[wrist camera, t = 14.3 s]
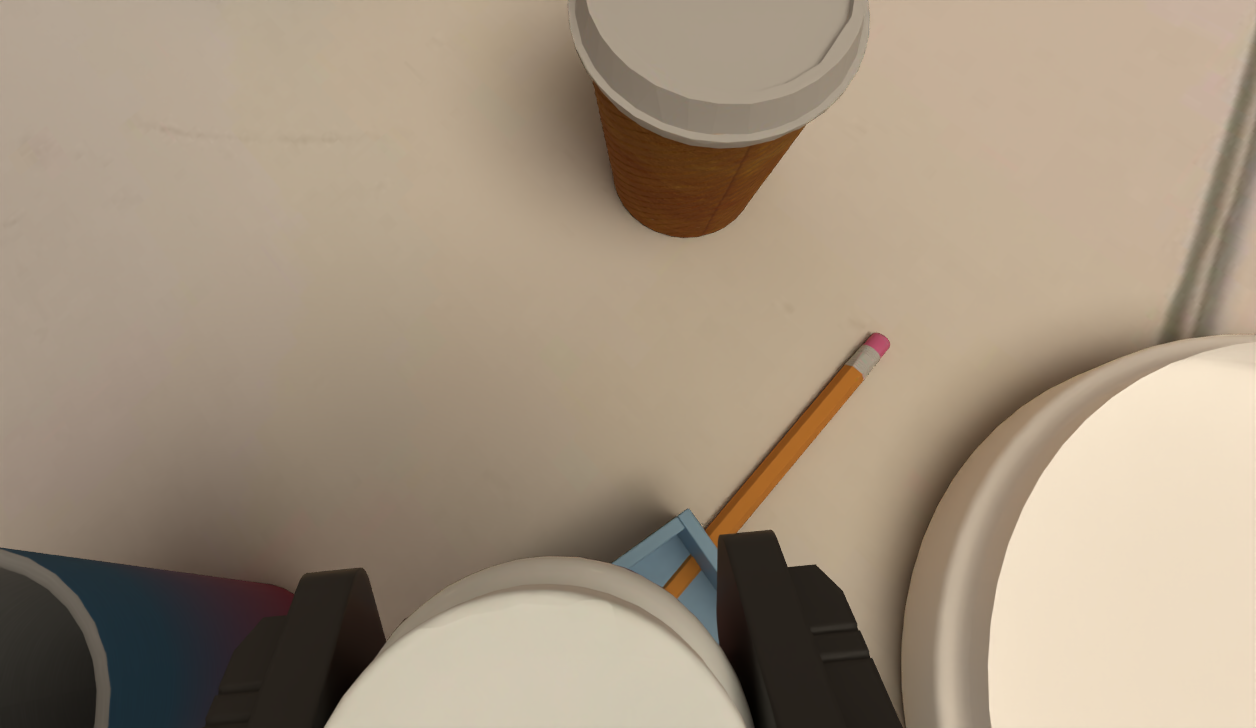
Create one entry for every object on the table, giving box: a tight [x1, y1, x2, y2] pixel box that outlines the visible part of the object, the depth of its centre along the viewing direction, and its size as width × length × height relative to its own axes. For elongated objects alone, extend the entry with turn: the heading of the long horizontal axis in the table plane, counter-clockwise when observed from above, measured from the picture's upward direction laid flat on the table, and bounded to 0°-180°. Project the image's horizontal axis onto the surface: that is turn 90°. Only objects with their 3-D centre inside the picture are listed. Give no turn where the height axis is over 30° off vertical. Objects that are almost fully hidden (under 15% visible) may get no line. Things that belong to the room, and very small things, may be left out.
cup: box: [0, 548, 294, 728], centre depth 23 cm, size 7×7×15 cm
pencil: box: [663, 333, 890, 599], centre depth 32 cm, size 1×1×19 cm
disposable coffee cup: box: [568, 0, 870, 238], centre depth 30 cm, size 10×10×12 cm
